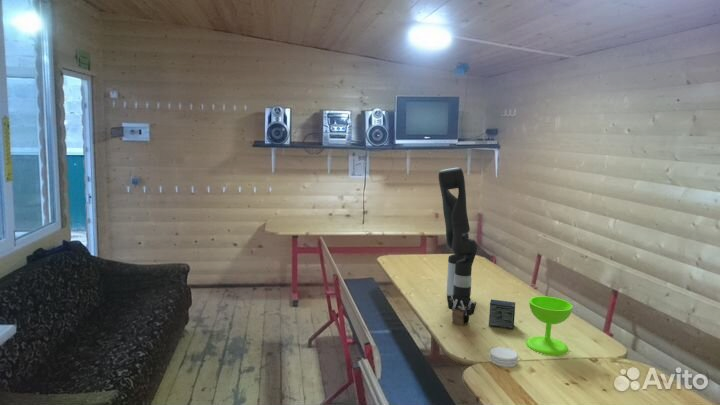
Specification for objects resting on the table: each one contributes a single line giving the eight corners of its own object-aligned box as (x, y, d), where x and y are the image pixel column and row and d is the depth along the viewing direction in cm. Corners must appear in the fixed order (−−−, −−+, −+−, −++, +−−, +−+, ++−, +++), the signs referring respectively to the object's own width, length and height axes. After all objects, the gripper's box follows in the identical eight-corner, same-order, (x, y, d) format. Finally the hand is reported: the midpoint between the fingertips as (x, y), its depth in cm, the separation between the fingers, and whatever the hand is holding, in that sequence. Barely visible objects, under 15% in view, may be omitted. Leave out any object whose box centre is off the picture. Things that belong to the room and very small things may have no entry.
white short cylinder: (490, 353, 190) (490, 344, 189) (517, 357, 187) (518, 348, 186) (489, 365, 180) (489, 356, 180) (517, 369, 177) (518, 360, 177)
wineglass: (546, 358, 186) (550, 313, 183) (517, 341, 200) (520, 298, 198) (577, 352, 192) (582, 307, 190) (547, 335, 207) (551, 294, 204)
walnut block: (458, 319, 222) (459, 306, 221) (468, 322, 218) (468, 309, 217) (452, 322, 218) (452, 309, 217) (461, 325, 215) (462, 312, 214)
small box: (514, 324, 218) (516, 301, 216) (513, 330, 212) (515, 306, 210) (489, 320, 221) (491, 298, 219) (488, 326, 215) (489, 303, 213)
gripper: (481, 286, 213) (479, 323, 216) (453, 278, 223) (451, 314, 226) (472, 290, 208) (469, 328, 210) (443, 281, 218) (441, 318, 220)
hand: (460, 320), depth 218 cm, fingers closed on walnut block, 5 cm apart
